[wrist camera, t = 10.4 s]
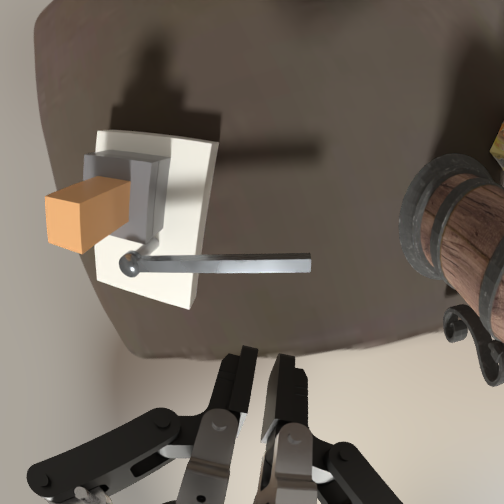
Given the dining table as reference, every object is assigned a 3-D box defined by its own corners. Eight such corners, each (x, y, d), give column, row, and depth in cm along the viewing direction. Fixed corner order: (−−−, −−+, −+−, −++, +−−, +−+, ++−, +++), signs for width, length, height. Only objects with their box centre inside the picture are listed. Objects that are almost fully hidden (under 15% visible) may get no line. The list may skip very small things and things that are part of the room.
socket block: (111, 129, 29) (71, 134, 22) (219, 142, 28) (197, 146, 21) (108, 270, 37) (79, 297, 30) (196, 296, 37) (177, 332, 30)
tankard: (395, 154, 26) (524, 202, 8) (500, 155, 23) (614, 199, 5) (391, 326, 35) (431, 448, 17) (481, 307, 32) (540, 397, 14)
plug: (108, 149, 27) (30, 169, 16) (171, 157, 27) (101, 179, 16) (105, 215, 30) (37, 257, 19) (163, 228, 30) (104, 283, 19)
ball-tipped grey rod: (310, 246, 24) (311, 252, 22) (309, 271, 25) (310, 278, 23) (122, 250, 26) (116, 255, 25) (127, 271, 27) (122, 277, 26)
